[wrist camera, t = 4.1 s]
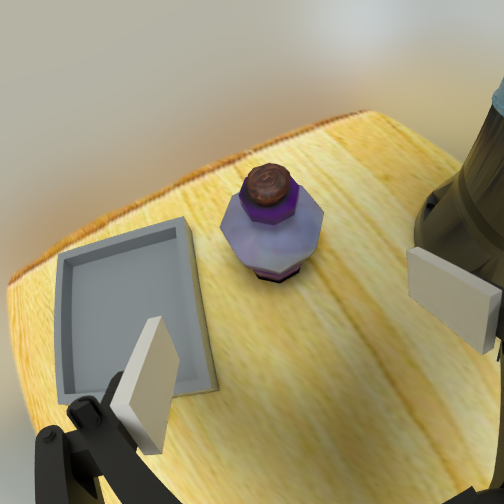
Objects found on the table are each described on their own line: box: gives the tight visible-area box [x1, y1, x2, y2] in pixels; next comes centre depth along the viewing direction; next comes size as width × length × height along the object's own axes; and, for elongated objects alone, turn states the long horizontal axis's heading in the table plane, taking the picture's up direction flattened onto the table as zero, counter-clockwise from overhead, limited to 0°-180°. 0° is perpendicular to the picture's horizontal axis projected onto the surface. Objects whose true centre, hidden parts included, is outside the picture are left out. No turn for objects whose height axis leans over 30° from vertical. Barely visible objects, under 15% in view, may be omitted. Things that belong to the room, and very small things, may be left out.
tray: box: [54, 216, 219, 406], centre depth 29 cm, size 16×17×3 cm
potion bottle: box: [220, 163, 324, 283], centre depth 26 cm, size 9×9×12 cm
